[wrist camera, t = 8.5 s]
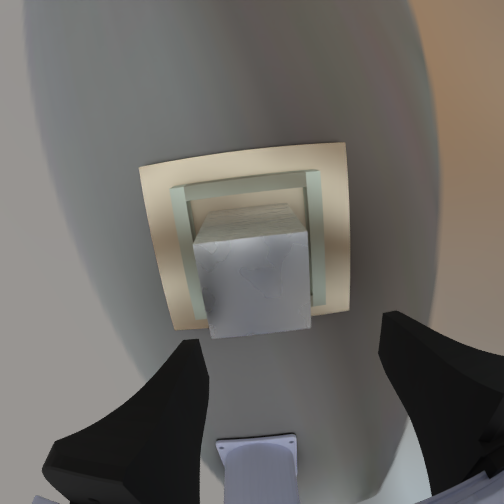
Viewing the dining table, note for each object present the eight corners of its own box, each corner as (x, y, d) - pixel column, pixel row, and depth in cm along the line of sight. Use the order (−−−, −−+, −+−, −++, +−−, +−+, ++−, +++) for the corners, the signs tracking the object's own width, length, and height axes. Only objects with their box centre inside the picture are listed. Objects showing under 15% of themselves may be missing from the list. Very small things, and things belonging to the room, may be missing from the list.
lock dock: (344, 301, 21) (354, 319, 19) (177, 321, 21) (171, 340, 19) (339, 142, 18) (352, 142, 15) (144, 165, 18) (131, 169, 15)
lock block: (292, 274, 19) (311, 327, 13) (220, 282, 19) (211, 339, 13) (286, 202, 18) (307, 231, 12) (208, 211, 18) (192, 244, 12)
